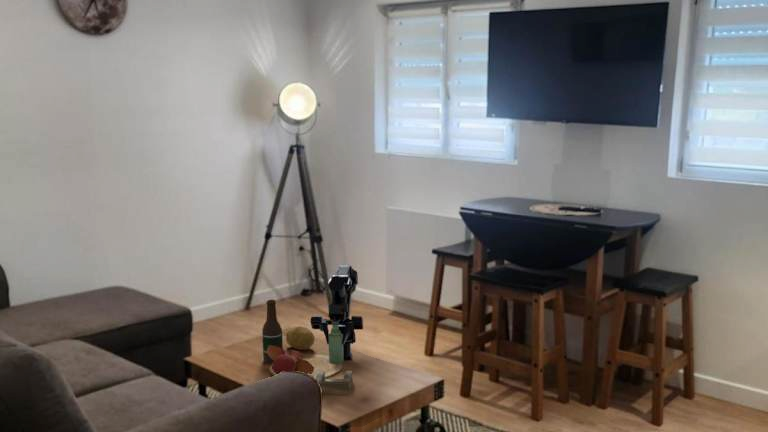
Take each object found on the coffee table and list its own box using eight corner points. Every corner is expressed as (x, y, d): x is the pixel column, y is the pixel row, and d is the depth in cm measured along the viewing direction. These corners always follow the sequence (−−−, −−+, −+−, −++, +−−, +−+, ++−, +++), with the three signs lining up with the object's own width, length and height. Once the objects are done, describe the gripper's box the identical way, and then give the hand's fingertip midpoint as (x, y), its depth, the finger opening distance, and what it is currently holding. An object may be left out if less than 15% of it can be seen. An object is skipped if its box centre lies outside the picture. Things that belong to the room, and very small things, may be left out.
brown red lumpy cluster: (268, 360, 270) (251, 365, 256) (277, 339, 270) (261, 343, 256) (312, 384, 266) (298, 390, 251) (322, 362, 265) (308, 367, 251)
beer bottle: (285, 357, 278) (283, 298, 275) (280, 364, 271) (278, 303, 267) (265, 357, 279) (263, 297, 275) (260, 364, 271) (258, 303, 268)
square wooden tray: (318, 381, 253) (318, 370, 253) (352, 381, 253) (352, 370, 252) (313, 394, 242) (313, 383, 241) (348, 394, 241) (348, 383, 240)
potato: (299, 320, 295) (281, 323, 289) (320, 328, 286) (302, 332, 280) (297, 342, 296) (279, 346, 290) (318, 351, 287) (301, 355, 281)
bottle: (333, 358, 259) (332, 318, 257) (346, 360, 257) (345, 320, 254) (326, 363, 254) (325, 322, 252) (339, 365, 252) (338, 324, 250)
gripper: (310, 294, 256) (306, 333, 247) (362, 294, 255) (359, 333, 246) (314, 309, 265) (310, 347, 256) (364, 309, 264) (362, 348, 255)
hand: (335, 344), depth 253 cm, fingers closed on bottle, 5 cm apart
